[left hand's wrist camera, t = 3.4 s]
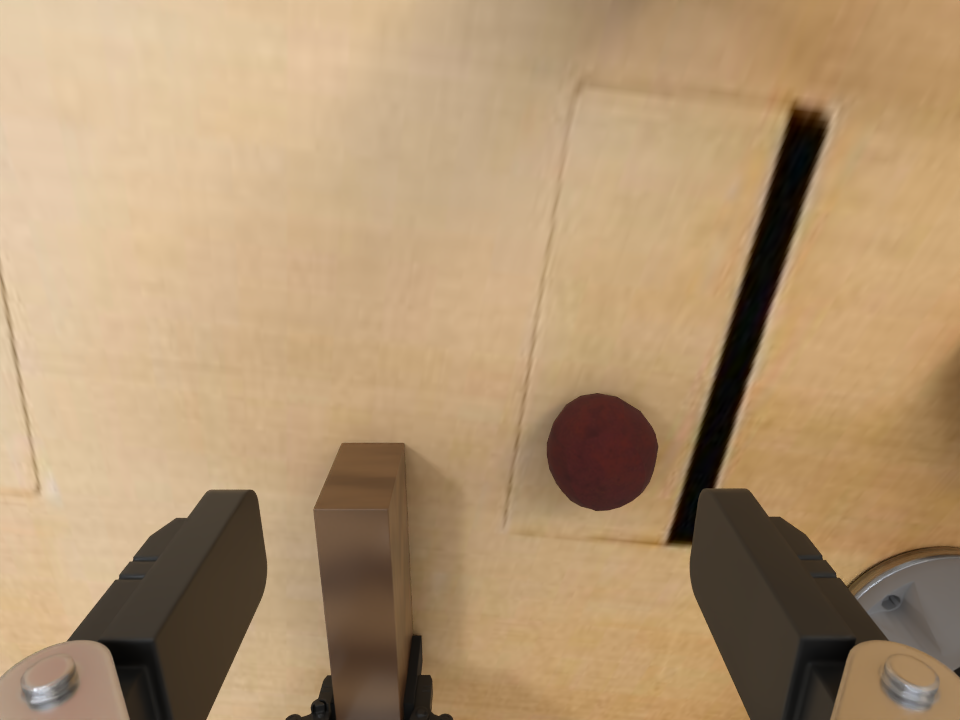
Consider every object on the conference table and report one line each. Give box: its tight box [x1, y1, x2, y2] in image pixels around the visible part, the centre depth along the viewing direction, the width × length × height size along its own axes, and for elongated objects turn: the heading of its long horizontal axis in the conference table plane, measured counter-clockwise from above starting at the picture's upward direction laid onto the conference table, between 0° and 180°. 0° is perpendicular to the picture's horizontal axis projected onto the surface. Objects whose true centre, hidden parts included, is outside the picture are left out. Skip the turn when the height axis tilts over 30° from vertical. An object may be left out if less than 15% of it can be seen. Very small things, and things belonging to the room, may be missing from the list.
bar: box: [314, 443, 413, 720], centre depth 47 cm, size 22×5×8 cm, turn 0°
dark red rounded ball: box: [547, 393, 658, 511], centre depth 43 cm, size 7×8×7 cm
